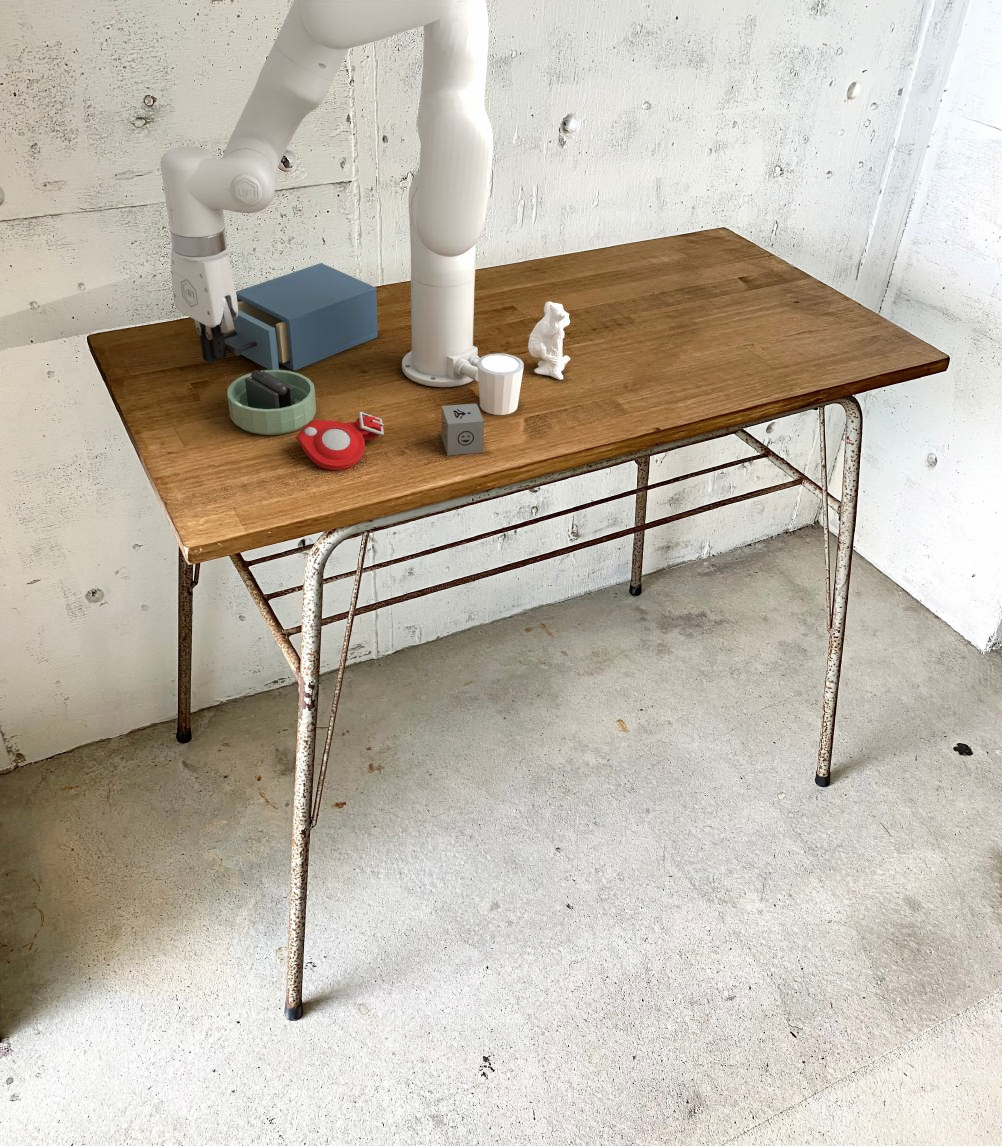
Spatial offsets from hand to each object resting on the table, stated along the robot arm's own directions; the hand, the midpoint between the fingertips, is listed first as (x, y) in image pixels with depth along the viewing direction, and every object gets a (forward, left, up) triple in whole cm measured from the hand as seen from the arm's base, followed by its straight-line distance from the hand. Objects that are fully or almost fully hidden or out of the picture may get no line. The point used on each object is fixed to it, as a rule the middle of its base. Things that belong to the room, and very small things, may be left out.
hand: (214, 358), depth 166 cm
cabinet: (0, -18, -3) cm, 18 cm away
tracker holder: (-30, 0, -3) cm, 30 cm away
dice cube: (-40, -13, -3) cm, 42 cm away
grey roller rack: (-16, +2, -2) cm, 16 cm away
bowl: (-16, +1, -3) cm, 16 cm away
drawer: (0, -12, -2) cm, 12 cm away
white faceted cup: (-36, -25, -3) cm, 44 cm away
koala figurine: (-34, -39, -3) cm, 52 cm away
